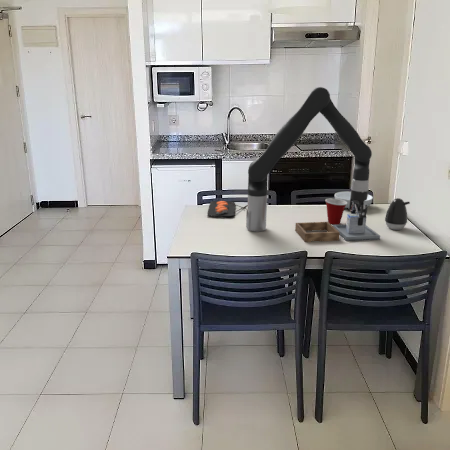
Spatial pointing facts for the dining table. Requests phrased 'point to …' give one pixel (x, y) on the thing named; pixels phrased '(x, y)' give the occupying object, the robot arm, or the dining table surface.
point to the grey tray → (367, 235)
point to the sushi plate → (222, 208)
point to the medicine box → (354, 224)
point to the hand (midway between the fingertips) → (356, 222)
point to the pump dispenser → (396, 214)
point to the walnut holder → (318, 236)
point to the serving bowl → (346, 197)
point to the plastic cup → (335, 210)
